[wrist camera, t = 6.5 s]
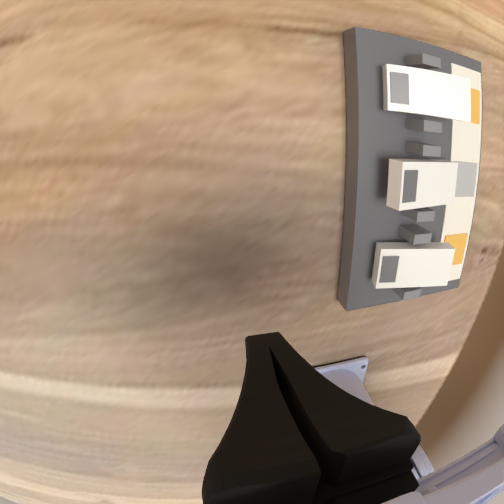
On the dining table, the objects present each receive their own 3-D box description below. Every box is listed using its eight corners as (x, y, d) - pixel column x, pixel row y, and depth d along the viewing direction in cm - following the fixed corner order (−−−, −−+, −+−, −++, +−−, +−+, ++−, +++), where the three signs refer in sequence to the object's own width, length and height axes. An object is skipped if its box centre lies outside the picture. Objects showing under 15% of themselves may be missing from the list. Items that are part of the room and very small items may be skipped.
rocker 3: (440, 278, 22) (447, 286, 21) (371, 280, 23) (375, 289, 22) (448, 242, 21) (455, 249, 20) (376, 242, 21) (381, 249, 20)
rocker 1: (463, 121, 17) (471, 122, 16) (383, 110, 18) (388, 110, 17) (462, 79, 16) (470, 78, 15) (382, 66, 17) (386, 63, 16)
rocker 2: (441, 199, 21) (454, 203, 20) (386, 205, 19) (399, 211, 18) (445, 159, 20) (458, 162, 19) (389, 158, 18) (403, 162, 17)
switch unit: (446, 278, 27) (471, 297, 24) (337, 299, 25) (356, 326, 22) (466, 62, 19) (498, 61, 15) (343, 32, 17) (370, 19, 14)
